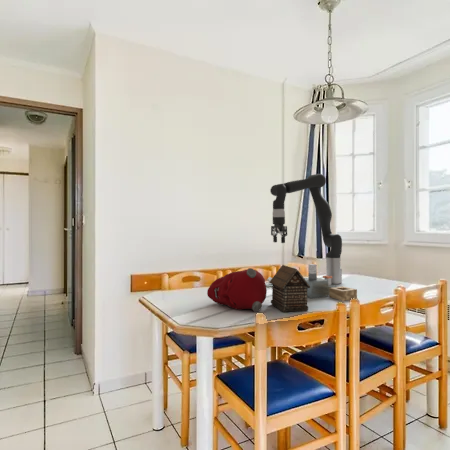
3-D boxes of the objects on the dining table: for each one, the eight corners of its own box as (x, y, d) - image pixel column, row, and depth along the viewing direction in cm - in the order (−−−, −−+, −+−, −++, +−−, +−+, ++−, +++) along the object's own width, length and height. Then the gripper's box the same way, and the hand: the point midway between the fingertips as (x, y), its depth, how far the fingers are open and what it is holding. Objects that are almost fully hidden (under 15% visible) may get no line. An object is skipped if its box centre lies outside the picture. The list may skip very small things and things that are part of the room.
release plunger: (327, 285, 200) (327, 275, 200) (332, 286, 196) (332, 276, 196) (322, 285, 198) (322, 275, 198) (327, 286, 195) (327, 276, 195)
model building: (311, 311, 159) (310, 268, 158) (282, 313, 156) (281, 269, 156) (295, 302, 176) (295, 263, 176) (269, 304, 174) (268, 264, 173)
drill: (313, 288, 195) (312, 263, 195) (316, 289, 192) (316, 264, 192) (308, 288, 193) (308, 264, 193) (312, 289, 190) (312, 264, 190)
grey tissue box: (325, 290, 204) (325, 275, 204) (339, 294, 193) (339, 278, 193) (297, 294, 195) (297, 278, 195) (311, 298, 185) (311, 281, 185)
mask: (197, 275, 172) (240, 270, 151) (233, 269, 190) (276, 263, 169) (203, 316, 170) (247, 316, 149) (239, 305, 188) (283, 304, 167)
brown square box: (343, 295, 192) (343, 286, 192) (357, 298, 183) (356, 289, 183) (329, 297, 188) (329, 288, 188) (343, 300, 179) (342, 291, 179)
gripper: (290, 216, 206) (290, 243, 206) (277, 216, 219) (277, 241, 219) (280, 216, 203) (280, 243, 203) (267, 216, 215) (267, 242, 216)
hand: (279, 242), depth 211 cm, fingers open, 8 cm apart
